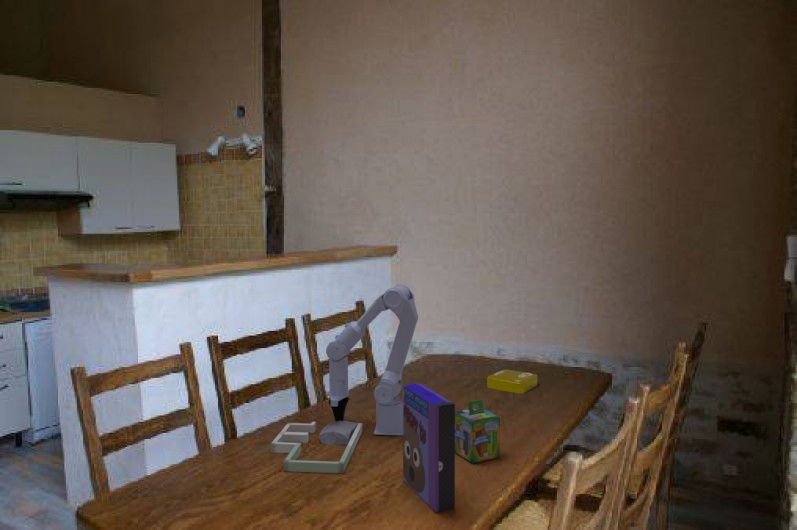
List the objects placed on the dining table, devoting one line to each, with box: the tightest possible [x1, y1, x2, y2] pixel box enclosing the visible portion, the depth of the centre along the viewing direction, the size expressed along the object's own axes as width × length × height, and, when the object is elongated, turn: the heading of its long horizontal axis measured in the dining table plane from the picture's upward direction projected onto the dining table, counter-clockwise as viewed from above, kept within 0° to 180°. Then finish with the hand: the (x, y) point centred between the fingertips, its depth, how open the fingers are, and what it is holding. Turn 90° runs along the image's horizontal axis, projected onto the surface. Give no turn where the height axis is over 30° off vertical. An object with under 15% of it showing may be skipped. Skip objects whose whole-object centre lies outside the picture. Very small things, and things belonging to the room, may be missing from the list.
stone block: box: [318, 420, 359, 446], centre depth 177 cm, size 12×5×10 cm
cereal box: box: [402, 383, 456, 514], centre depth 140 cm, size 17×5×24 cm, turn 23°
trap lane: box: [270, 421, 363, 474], centre depth 168 cm, size 22×30×2 cm
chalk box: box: [455, 399, 501, 464], centre depth 163 cm, size 9×9×15 cm
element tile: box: [486, 369, 538, 394], centre depth 228 cm, size 15×15×5 cm
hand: (339, 422), depth 186 cm, fingers closed
